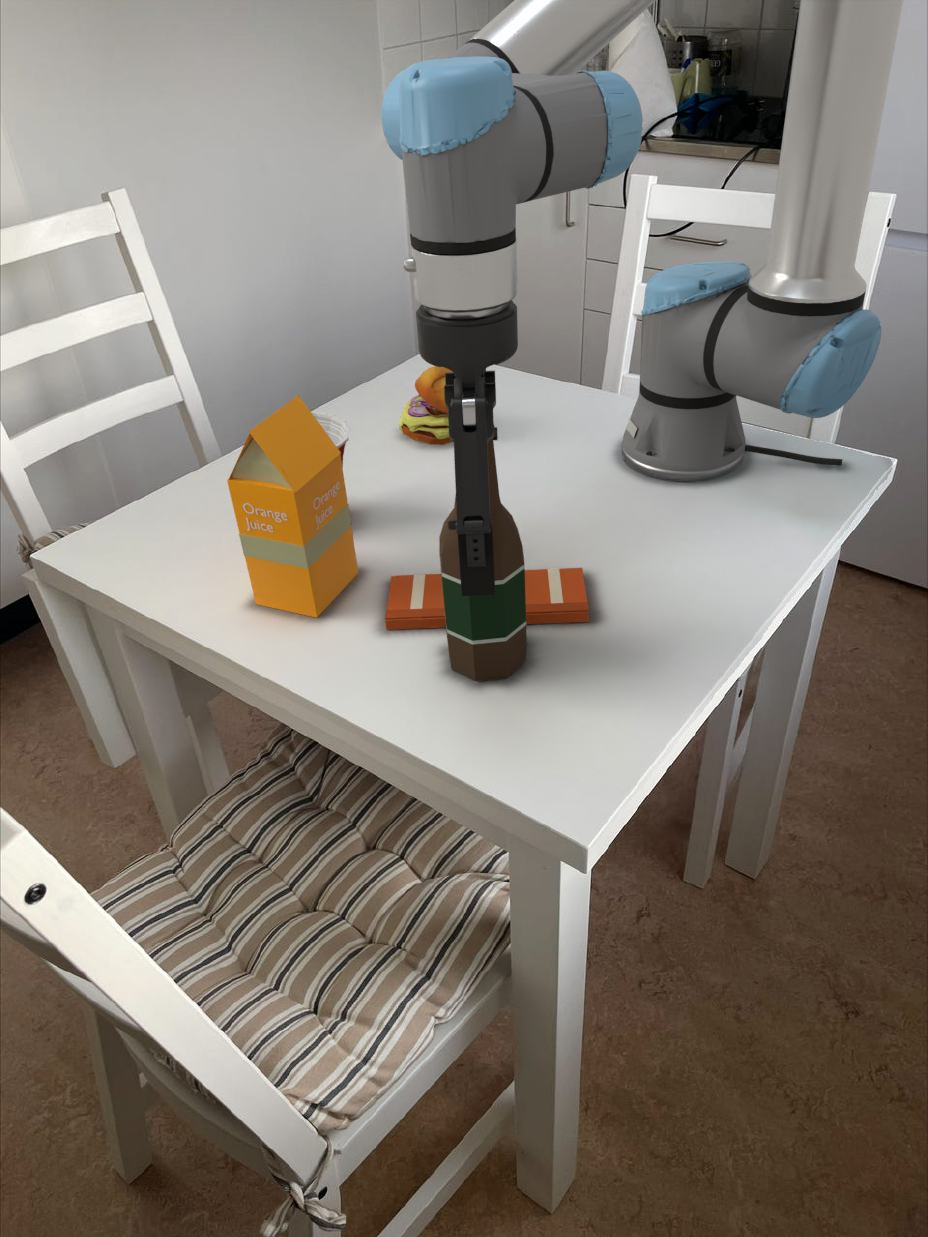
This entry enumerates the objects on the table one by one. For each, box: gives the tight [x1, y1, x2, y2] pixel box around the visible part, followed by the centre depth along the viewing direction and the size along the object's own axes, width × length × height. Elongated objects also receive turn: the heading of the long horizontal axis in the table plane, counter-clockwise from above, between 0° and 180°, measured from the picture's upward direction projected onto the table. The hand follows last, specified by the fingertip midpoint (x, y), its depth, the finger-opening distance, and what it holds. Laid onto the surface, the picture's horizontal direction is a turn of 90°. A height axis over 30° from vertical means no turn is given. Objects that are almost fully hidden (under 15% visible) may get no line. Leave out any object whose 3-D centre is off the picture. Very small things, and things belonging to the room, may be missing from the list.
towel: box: [384, 567, 590, 631], centre depth 96 cm, size 20×8×1 cm, turn 89°
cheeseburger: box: [398, 365, 453, 446], centre depth 128 cm, size 10×11×10 cm
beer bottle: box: [438, 417, 528, 682], centre depth 82 cm, size 8×8×24 cm
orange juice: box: [226, 395, 359, 618], centre depth 95 cm, size 8×9×20 cm
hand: (478, 549), depth 82 cm, fingers open, 13 cm apart
